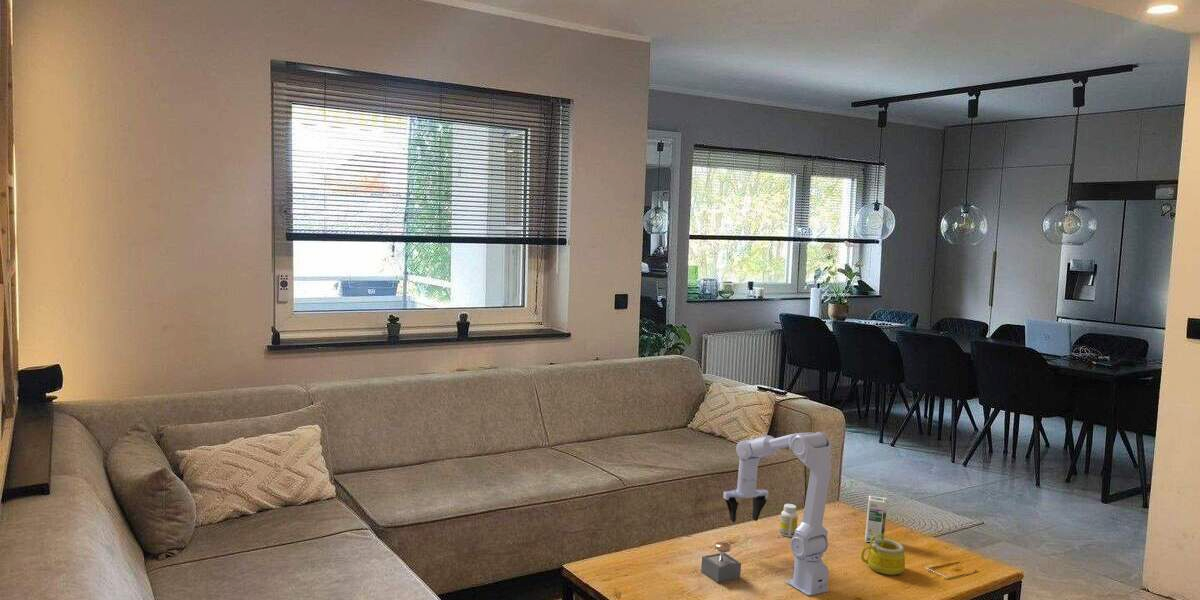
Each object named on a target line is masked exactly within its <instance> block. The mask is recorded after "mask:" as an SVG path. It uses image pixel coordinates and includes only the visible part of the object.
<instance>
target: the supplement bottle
mask: <svg viewBox="0 0 1200 600" xmlns="http://www.w3.org/2000/svg"><path fill="white" fill-rule="evenodd" d="M798 517H799V515H798V513H797V505H795V504H793V503H785V504H784V505H783V510H782V511H781V512H780V521H779V522H780V523H779V524H780V525H779V534H780V535H781V536H783V537H786V538H792V537H793V536H794V534H795V530H796V528H797V527H798Z"/></svg>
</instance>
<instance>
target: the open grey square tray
mask: <svg viewBox="0 0 1200 600" xmlns="http://www.w3.org/2000/svg"><path fill="white" fill-rule="evenodd" d="M719 555H720V552H718V553H712V554H709V555H702V556H701V569H700V570H701V571H700V573H702V574H703V575H705V576H706V577H707V578H709V579H710V580H712V581H713V582H715V583H716V584H723V583H726V582H731V581H736V580H740V579H741V570H742V562H740V561H739V560H737V559H735V558H734V557H732V556H731V555H729V554H728V553H727V552H724V555H725V556H726V557H728V558H730V559H731V560H733V561H734V562H736V563H733V564H728V565H723V566H718V565H717V564H715V563H714V562H712V561H711V560H709V559H708V557H713V556H719Z"/></svg>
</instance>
